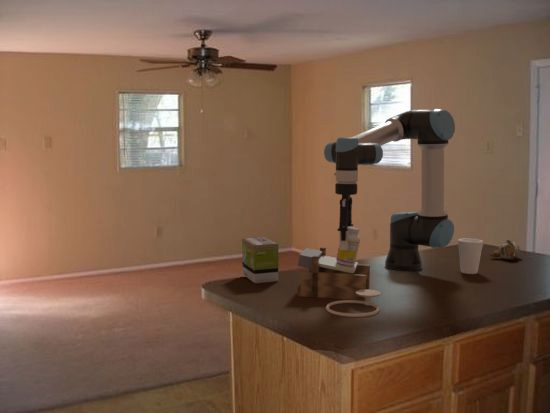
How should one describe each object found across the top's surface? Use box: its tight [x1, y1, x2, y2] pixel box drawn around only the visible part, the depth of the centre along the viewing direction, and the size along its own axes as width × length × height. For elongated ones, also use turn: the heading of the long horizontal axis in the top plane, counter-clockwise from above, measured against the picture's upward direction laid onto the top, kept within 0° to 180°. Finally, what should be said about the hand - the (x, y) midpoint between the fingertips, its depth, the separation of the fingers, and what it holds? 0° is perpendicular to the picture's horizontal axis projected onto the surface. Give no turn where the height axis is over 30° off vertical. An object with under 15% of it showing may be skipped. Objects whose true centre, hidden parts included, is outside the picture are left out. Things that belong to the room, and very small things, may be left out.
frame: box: [296, 247, 371, 301], centre depth 221 cm, size 23×18×14 cm
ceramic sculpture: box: [489, 239, 521, 261], centre depth 282 cm, size 11×9×15 cm
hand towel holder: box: [325, 288, 381, 318], centre depth 201 cm, size 17×4×20 cm
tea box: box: [241, 236, 279, 284], centre depth 241 cm, size 15×10×15 cm
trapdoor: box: [297, 247, 359, 273], centre depth 221 cm, size 19×15×4 cm
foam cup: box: [457, 237, 484, 275], centre depth 254 cm, size 10×9×13 cm
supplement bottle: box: [336, 226, 361, 266], centre depth 219 cm, size 7×7×13 cm
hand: (345, 247), depth 219 cm, fingers open, 9 cm apart
